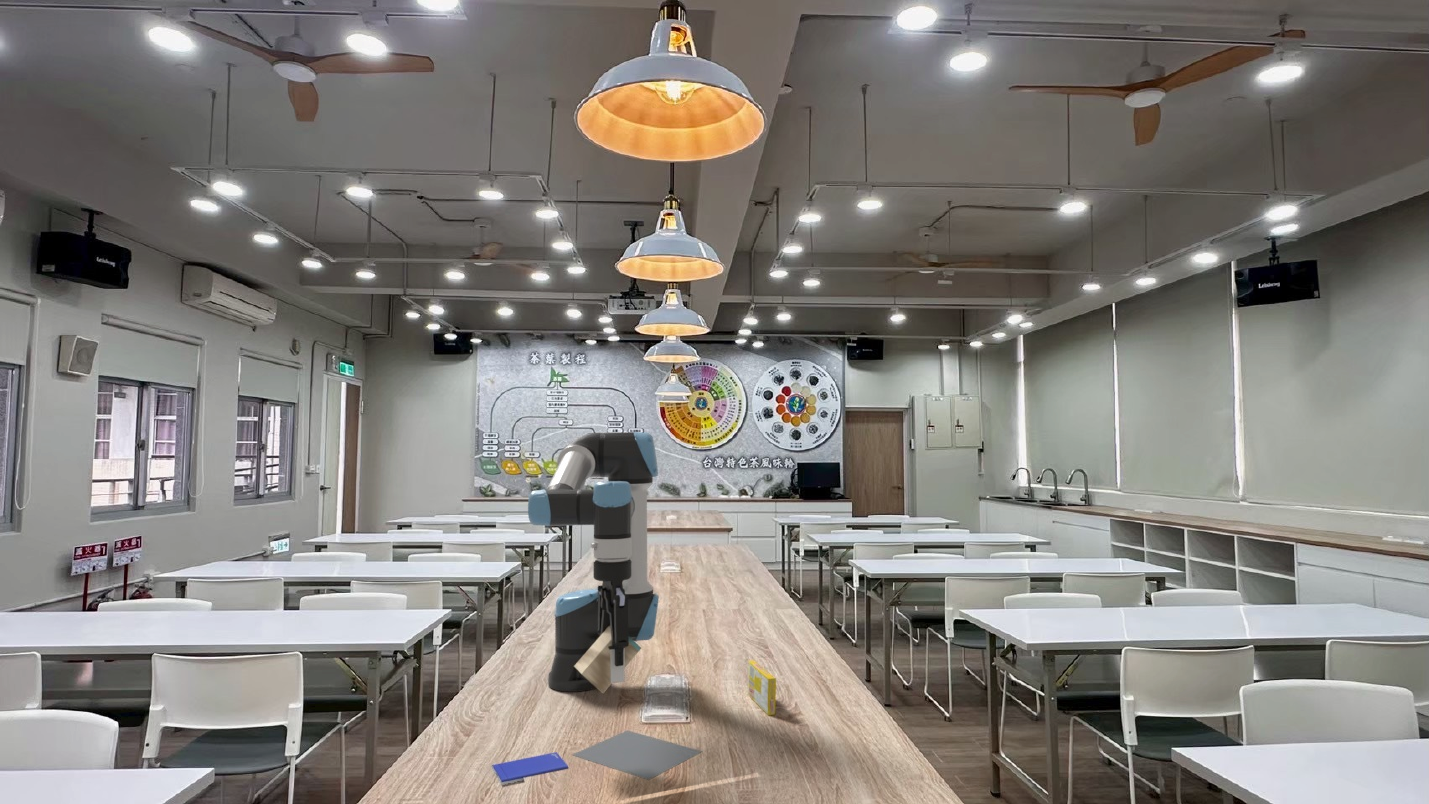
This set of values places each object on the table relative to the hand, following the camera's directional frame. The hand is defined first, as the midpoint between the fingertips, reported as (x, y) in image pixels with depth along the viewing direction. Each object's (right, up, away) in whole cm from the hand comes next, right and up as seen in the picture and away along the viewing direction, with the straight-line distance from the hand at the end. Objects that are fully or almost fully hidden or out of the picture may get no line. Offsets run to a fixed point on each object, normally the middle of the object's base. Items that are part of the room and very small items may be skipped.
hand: (612, 677), depth 152 cm
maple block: (-4, 0, -2) cm, 5 cm away
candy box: (+31, -17, +29) cm, 46 cm away
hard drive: (-15, -16, -7) cm, 23 cm away
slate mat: (+5, -15, -1) cm, 16 cm away
